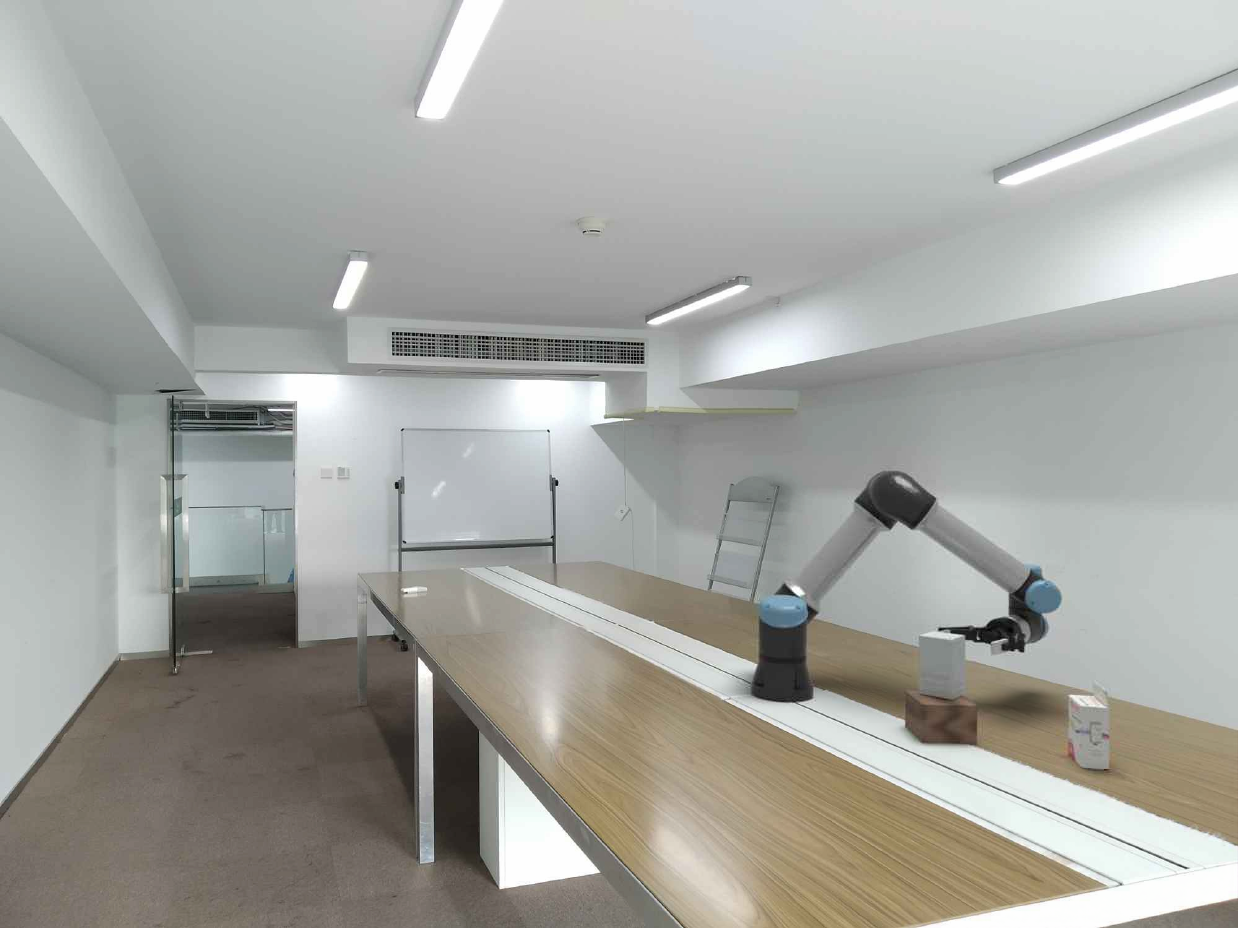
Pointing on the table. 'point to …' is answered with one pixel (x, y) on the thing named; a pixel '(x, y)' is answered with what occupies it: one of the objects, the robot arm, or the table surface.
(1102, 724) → the ink cartridge box
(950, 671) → the supplement box
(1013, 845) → the table surface
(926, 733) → the walnut block
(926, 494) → the robot arm
